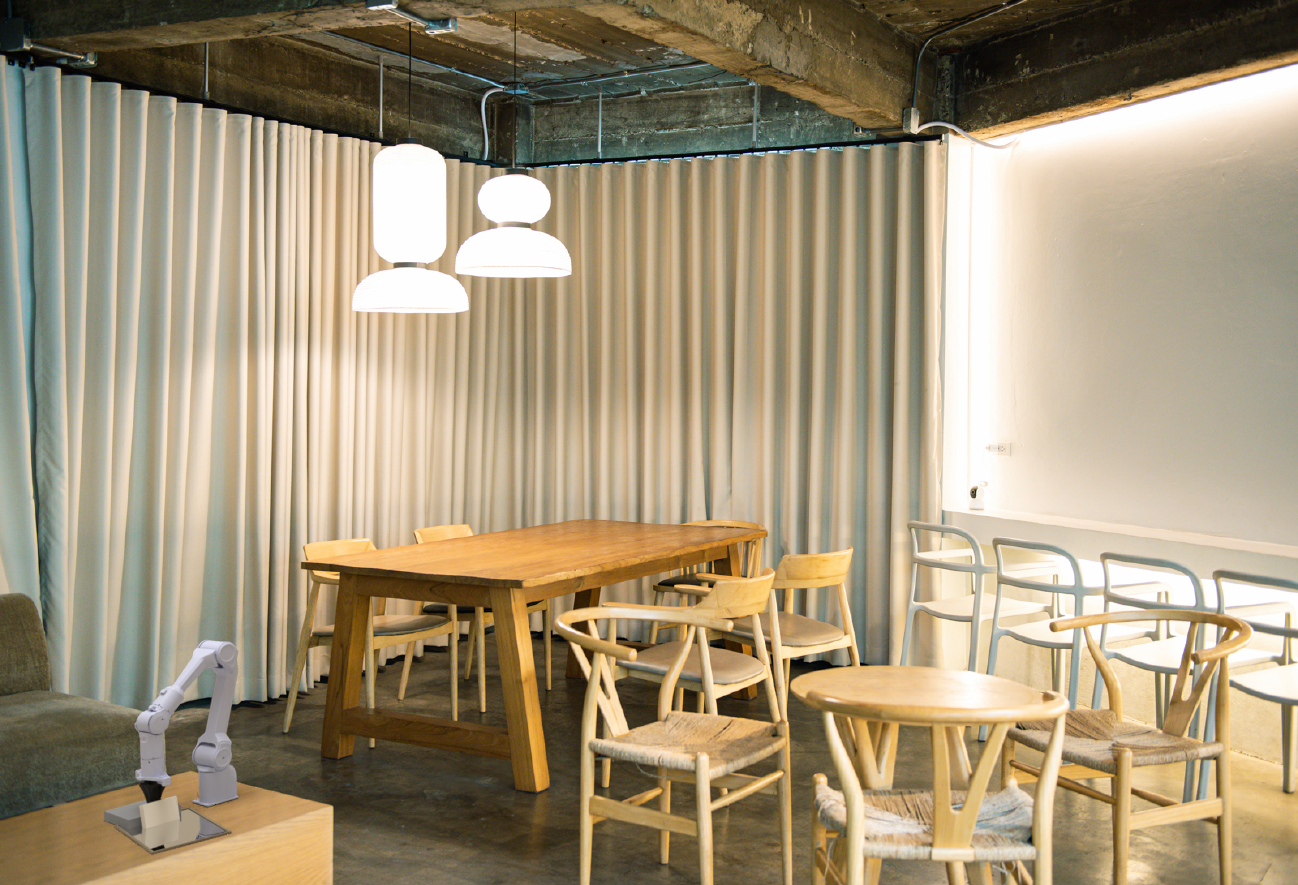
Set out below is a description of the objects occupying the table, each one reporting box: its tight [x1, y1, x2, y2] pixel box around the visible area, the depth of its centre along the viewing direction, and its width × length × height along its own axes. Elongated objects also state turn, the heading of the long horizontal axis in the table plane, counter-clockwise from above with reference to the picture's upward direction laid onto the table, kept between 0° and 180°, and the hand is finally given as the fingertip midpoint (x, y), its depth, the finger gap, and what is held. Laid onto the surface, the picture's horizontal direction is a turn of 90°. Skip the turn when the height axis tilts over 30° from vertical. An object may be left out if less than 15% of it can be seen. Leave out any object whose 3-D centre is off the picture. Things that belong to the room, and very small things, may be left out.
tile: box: [139, 795, 180, 829], centre depth 276 cm, size 9×6×2 cm
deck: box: [103, 799, 182, 829], centre depth 282 cm, size 14×13×2 cm
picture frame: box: [114, 806, 233, 855], centre depth 271 cm, size 19×1×28 cm
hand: (153, 808), depth 278 cm, fingers closed
